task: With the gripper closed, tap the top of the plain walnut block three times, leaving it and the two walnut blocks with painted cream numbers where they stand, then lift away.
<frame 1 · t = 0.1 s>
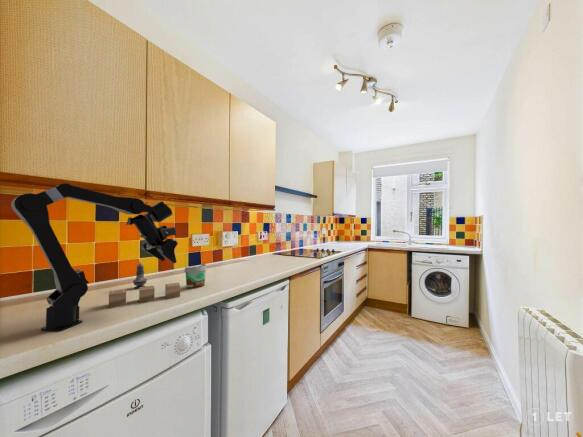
hand: (169, 261, 95), 15 cm above the counter, tool tilted 30°, fingers open, 9 cm apart
plain walnut block: (146, 300, 93), on the counter
walnut block numbered 7: (117, 304, 88), on the counter
food container: (198, 287, 113), on the counter
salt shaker: (139, 288, 112), on the counter
walnut block numbered 1: (172, 296, 98), on the counter
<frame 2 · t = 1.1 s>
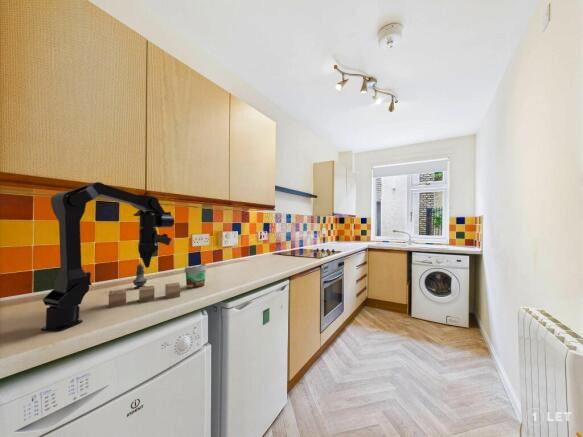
hand: (147, 267, 93), 13 cm above the counter, tool pointing down, fingers closed
nothing on the counter moved.
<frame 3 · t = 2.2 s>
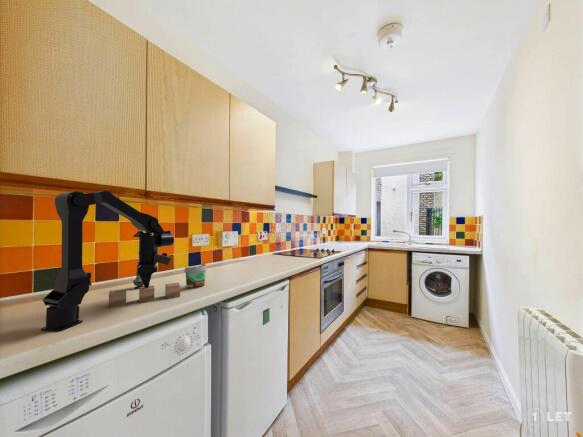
hand: (146, 287, 93), 5 cm above the counter, tool pointing down, fingers closed, pressing on plain walnut block
plain walnut block: (146, 300, 93), on the counter, touching gripper
everything else where it was.
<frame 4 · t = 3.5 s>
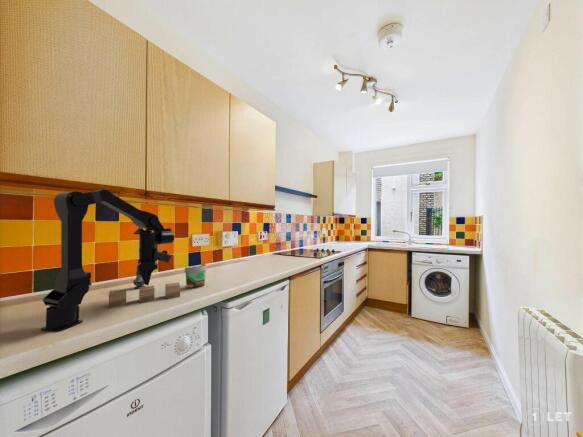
hand: (147, 285, 93), 6 cm above the counter, tool pointing down, fingers closed
plain walnut block: (146, 300, 93), on the counter
everything else where it was.
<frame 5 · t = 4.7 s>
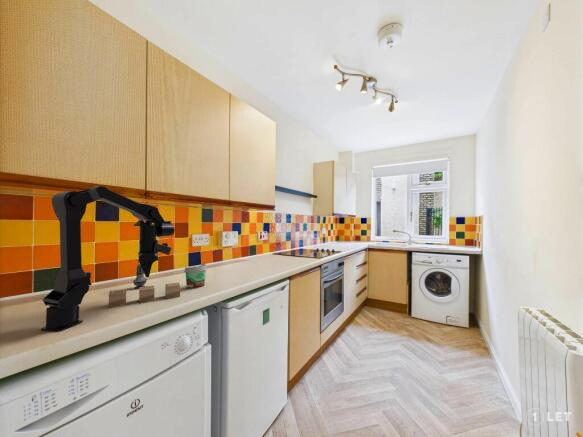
hand: (147, 276, 93), 9 cm above the counter, tool pointing down, fingers closed
nothing on the counter moved.
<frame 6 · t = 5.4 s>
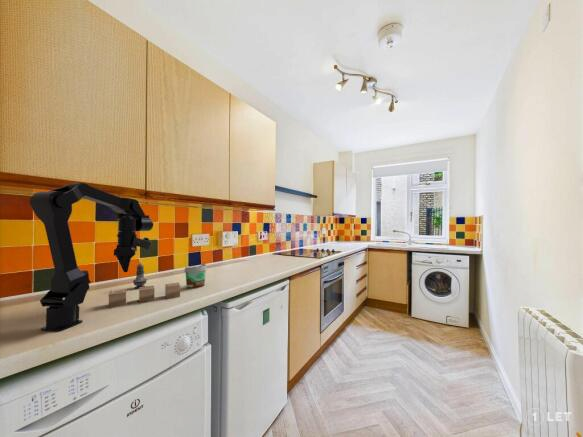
hand: (125, 272, 90), 12 cm above the counter, tool pointing down, fingers closed
nothing on the counter moved.
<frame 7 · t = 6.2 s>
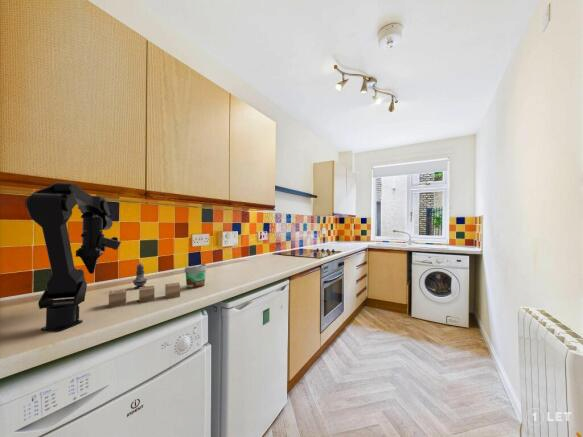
hand: (91, 273, 86), 12 cm above the counter, tool pointing down, fingers closed
nothing on the counter moved.
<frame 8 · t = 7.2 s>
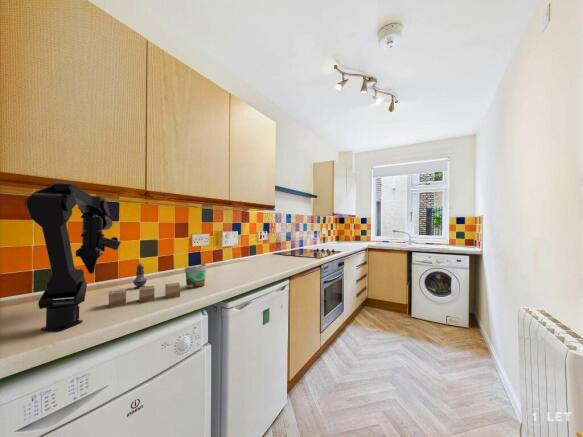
hand: (91, 273, 86), 12 cm above the counter, tool pointing down, fingers closed
nothing on the counter moved.
at the end: plain walnut block moved 0.1 cm from its start; walnut block numbered 1 moved 0.1 cm from its start; walnut block numbered 7 moved 0.1 cm from its start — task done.
